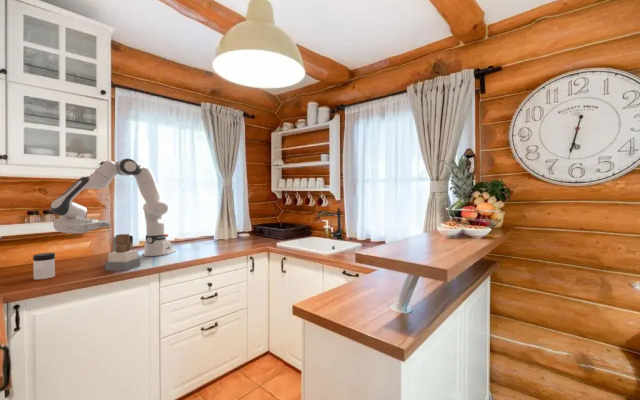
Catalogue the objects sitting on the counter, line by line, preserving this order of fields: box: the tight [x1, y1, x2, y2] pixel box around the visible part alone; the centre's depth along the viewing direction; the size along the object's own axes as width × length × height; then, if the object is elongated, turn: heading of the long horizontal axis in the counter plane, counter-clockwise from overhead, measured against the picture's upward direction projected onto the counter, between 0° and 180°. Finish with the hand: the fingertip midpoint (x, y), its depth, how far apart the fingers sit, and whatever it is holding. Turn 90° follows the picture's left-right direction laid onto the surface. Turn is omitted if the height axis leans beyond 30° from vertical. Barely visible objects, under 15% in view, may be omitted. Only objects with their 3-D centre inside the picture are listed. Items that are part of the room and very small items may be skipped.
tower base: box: [104, 257, 141, 272], centre depth 167 cm, size 12×12×5 cm
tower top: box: [107, 249, 138, 262], centre depth 166 cm, size 10×10×5 cm
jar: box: [32, 252, 56, 281], centre depth 147 cm, size 9×8×12 cm
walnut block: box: [115, 233, 130, 252], centre depth 166 cm, size 4×4×10 cm
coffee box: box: [112, 235, 134, 252], centre depth 183 cm, size 9×6×16 cm
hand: (102, 225), depth 167 cm, fingers open, 8 cm apart
